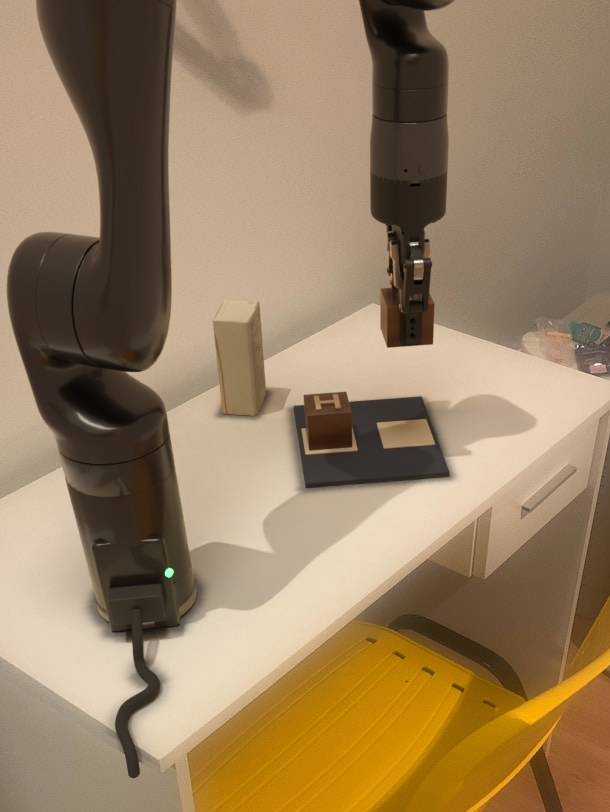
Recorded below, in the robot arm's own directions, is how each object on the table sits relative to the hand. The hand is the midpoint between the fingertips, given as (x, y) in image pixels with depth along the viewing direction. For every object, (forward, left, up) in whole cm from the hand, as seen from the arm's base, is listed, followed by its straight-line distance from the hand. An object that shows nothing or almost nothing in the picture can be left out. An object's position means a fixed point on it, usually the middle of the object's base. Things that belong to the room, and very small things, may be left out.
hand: (406, 332), depth 104 cm
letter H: (0, +9, -12) cm, 15 cm away
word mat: (0, +4, -13) cm, 14 cm away
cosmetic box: (+12, +18, -13) cm, 25 cm away
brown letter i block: (0, 0, 0) cm, 0 cm away
